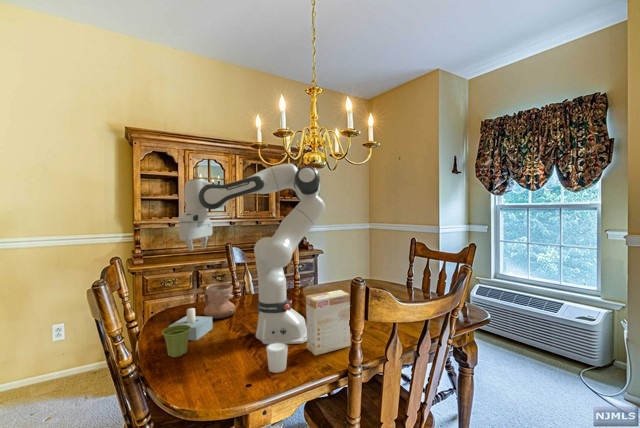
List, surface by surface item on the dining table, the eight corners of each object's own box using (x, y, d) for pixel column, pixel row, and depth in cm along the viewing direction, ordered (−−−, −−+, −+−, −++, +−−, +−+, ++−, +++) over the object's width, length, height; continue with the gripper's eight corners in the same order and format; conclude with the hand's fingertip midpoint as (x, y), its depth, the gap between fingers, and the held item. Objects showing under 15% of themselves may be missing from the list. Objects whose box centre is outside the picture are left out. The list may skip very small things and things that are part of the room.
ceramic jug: (244, 314, 152) (243, 285, 151) (220, 324, 139) (219, 292, 139) (218, 308, 161) (217, 281, 160) (194, 317, 148) (193, 287, 148)
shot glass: (288, 362, 104) (288, 341, 104) (287, 373, 97) (287, 351, 97) (268, 363, 104) (267, 342, 104) (265, 374, 97) (264, 351, 97)
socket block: (212, 328, 134) (212, 317, 134) (196, 340, 123) (196, 327, 122) (187, 327, 137) (186, 315, 136) (169, 338, 125) (168, 326, 125)
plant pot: (160, 361, 106) (159, 336, 106) (165, 349, 115) (164, 326, 115) (190, 357, 109) (189, 332, 108) (193, 346, 118) (192, 323, 117)
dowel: (195, 331, 132) (194, 307, 131) (196, 333, 129) (195, 309, 129) (186, 332, 130) (186, 309, 130) (187, 335, 127) (187, 311, 127)
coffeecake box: (341, 339, 122) (340, 289, 121) (351, 346, 115) (350, 293, 115) (306, 348, 114) (305, 295, 114) (315, 356, 108) (314, 300, 108)
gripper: (202, 215, 145) (204, 245, 146) (175, 217, 125) (176, 252, 125) (215, 215, 144) (216, 245, 144) (189, 217, 124) (190, 252, 124)
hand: (197, 248), depth 135 cm, fingers open, 8 cm apart
